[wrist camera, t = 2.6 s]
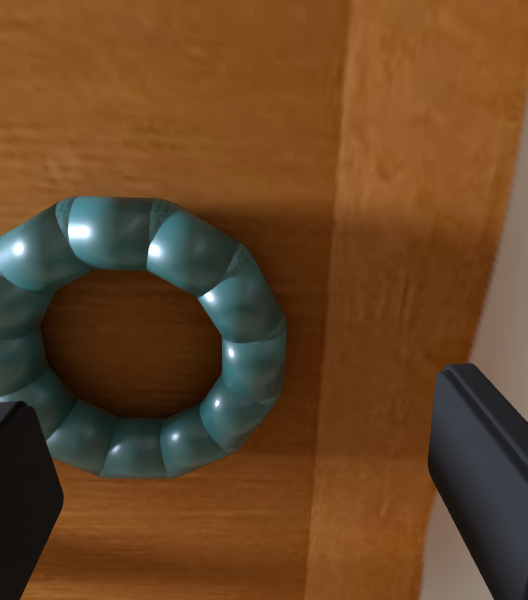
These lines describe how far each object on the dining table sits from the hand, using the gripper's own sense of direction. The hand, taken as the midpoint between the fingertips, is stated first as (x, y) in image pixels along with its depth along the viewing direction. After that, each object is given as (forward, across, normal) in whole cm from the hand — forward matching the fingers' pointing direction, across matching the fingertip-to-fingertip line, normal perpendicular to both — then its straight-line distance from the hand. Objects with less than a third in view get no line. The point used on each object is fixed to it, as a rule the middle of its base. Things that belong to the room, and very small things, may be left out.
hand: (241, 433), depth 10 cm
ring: (+4, +3, 0) cm, 5 cm away
